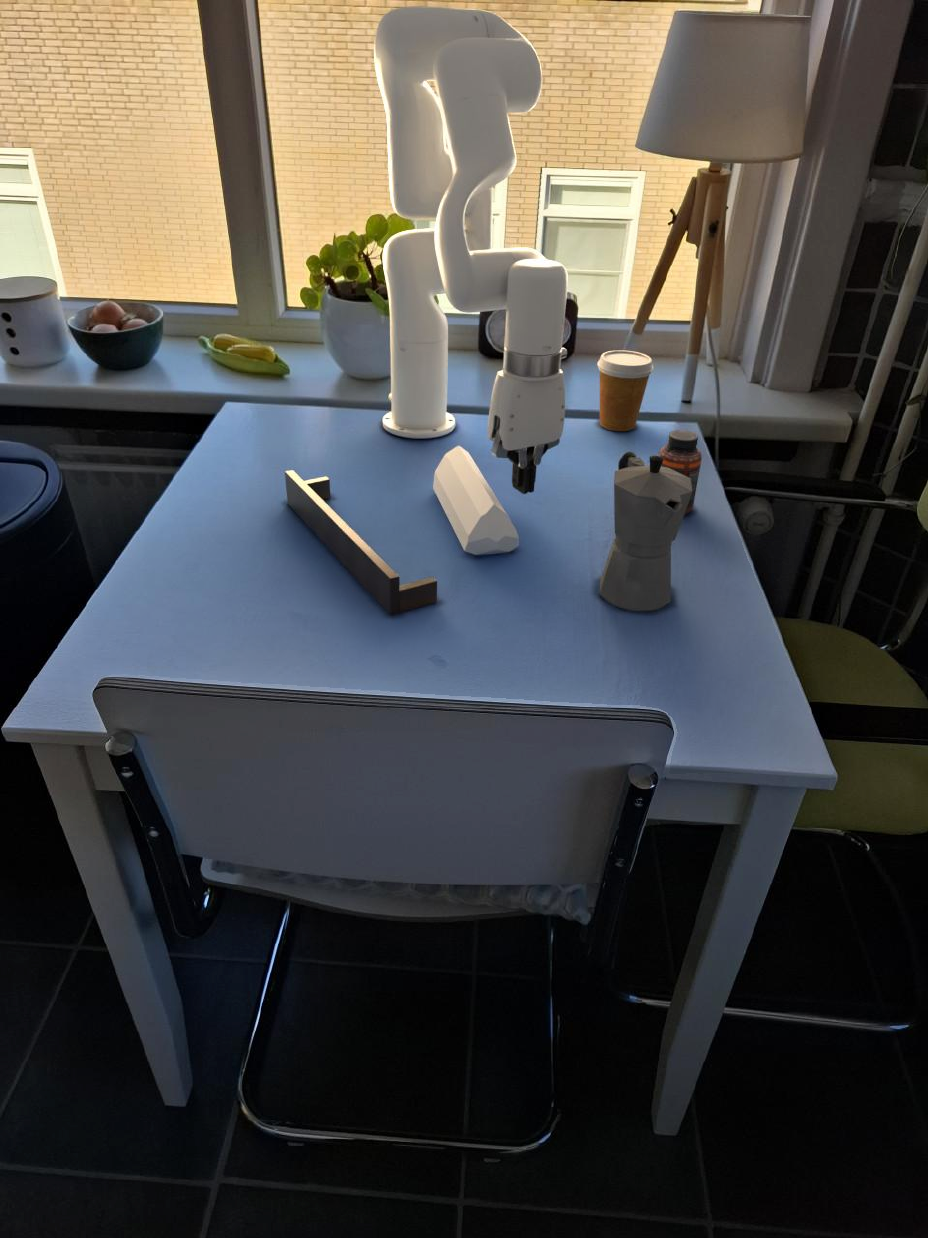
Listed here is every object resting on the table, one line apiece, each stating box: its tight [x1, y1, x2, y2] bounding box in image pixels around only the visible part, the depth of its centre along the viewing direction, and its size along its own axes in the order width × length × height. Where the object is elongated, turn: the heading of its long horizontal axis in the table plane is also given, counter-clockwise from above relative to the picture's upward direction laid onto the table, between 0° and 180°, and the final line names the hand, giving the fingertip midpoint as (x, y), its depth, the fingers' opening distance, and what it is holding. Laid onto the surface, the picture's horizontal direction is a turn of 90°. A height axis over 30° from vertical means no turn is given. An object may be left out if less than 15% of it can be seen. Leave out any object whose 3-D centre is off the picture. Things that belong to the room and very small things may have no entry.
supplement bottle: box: [658, 429, 703, 515], centre depth 125 cm, size 6×6×11 cm
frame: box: [284, 469, 438, 616], centre depth 114 cm, size 33×6×5 cm, turn 30°
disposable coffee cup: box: [597, 349, 654, 432], centre depth 152 cm, size 10×10×12 cm
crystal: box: [432, 445, 520, 556], centre depth 122 cm, size 7×7×24 cm
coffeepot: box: [599, 451, 692, 613], centre depth 104 cm, size 15×9×18 cm, turn 13°
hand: (522, 489), depth 125 cm, fingers closed
